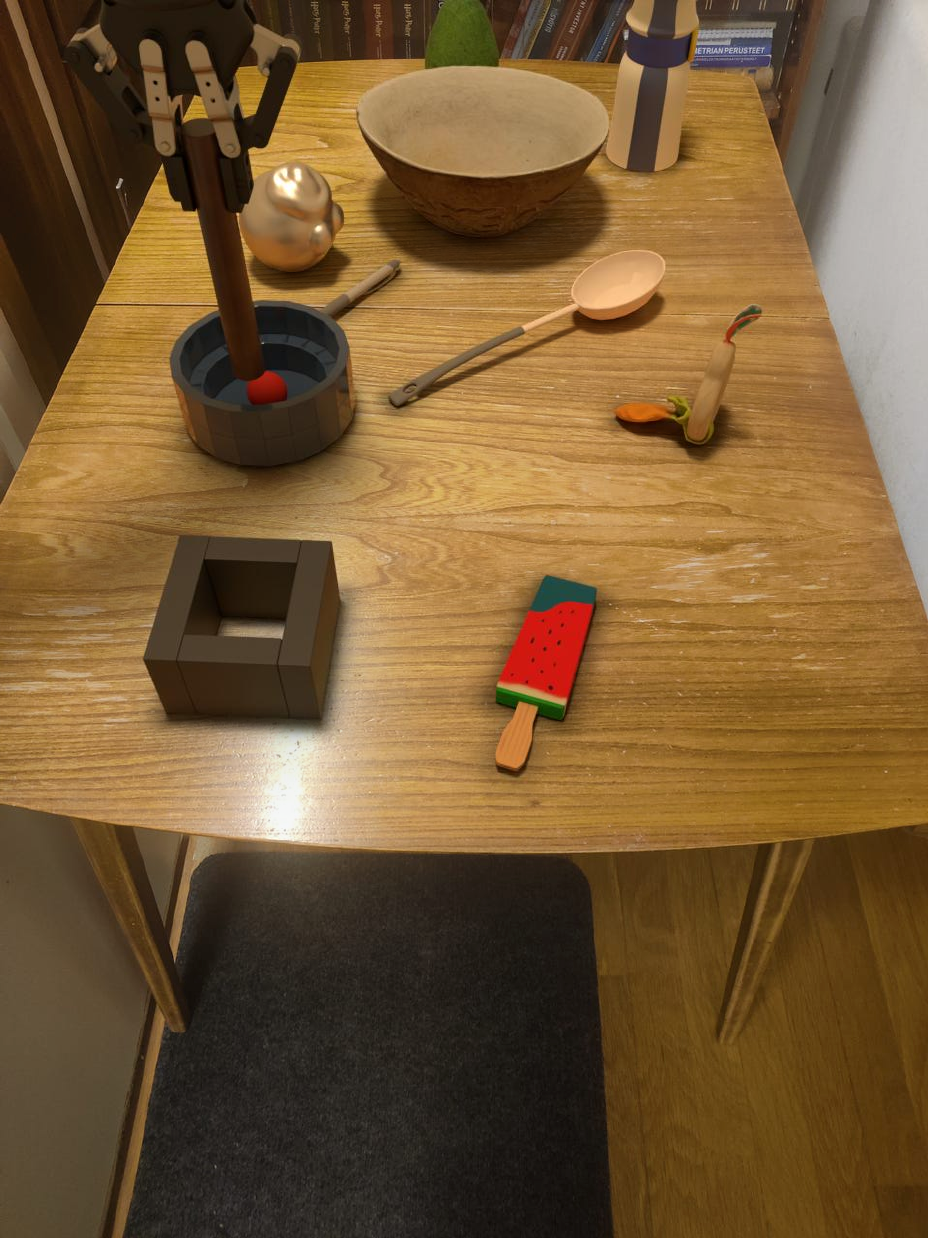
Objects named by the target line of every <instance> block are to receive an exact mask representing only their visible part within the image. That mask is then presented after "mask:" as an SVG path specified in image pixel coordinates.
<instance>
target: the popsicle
mask: <svg viewBox="0 0 928 1238" xmlns="http://www.w3.org/2000/svg"><path fill="white" fill-rule="evenodd" d="M597 594H598V589H597V587H595V586H592V585H587V584H584V583H579V582H576V581H572V580H569V579H564V578H561V577H556V576H553V575H549V574H547V575H545V576H543V578H542V580H541V582H540V585H539V586H538V590H537V592H536V593H535V596H534V599H533V601H532V603H531V606H530V607H529V609H528V612H527V614H526V617H525V619H524V622H523V623H522V626H521V628H520V630H519V633H518V635H517V638H516V640H515V642H514V644H513V646H512V649H511V650H510V653H509V656H508V658H507V660H506V663H505V665H504V667H503V669H502V672H501V674H500V676H499V678H498V680H497V683H496V686H495V702H496V703H498V704H502V705H505V706H508V707H513V708H516V709H515V711H514V713H513V717H512V719H511V720H510V721H509V722H508V723H507V726H506V727H505V728H504V729H503V731H502V733H501V736H500V739H499V742H498V744H497V747H496V750H495V754H494V755H495V756H494V760H495V764H496V766H498V767H501V768H504V769H508V770H511V771H515V772H517V771H519V770H520V769H521V768H522V767H523V766H524V765H525V763H526V760H527V757H528V754H529V751H530V749H531V746H532V743H533V742H532V741H533V725H534V722H535V719H536V716H537V715H541V716H544V717H547V718H550V719H554V720H558V721H561V720H563V718H564V716H565V713H566V709H567V707H568V702H569V699H570V695H571V691H572V689H573V685H574V681H575V677H576V673H577V670H578V668H579V667H578V666H579V664H580V659H581V655H582V652H583V649H584V645H585V641H586V638H587V635H588V630H589V627H590V623H591V619H592V617H593V612H594V609H595V605H596V599H597Z"/></svg>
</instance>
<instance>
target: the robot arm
mask: <svg viewBox="0 0 928 1238" xmlns="http://www.w3.org/2000/svg"><path fill="white" fill-rule="evenodd" d="M98 22H99V23H98V24H96V25H94V26H93V27H91V28H89V27H79V28H78V29H77V30H76V31H75V33H74V35H73V37H72V38H71V39H70V41H69V42H68V44H67V45H66V47H65V49H64V50H63V59H64V61H65V62H66V64H67V65H68V67H69V68H70V69H71V70H72V72H73V73H74V75H76V77H77V78H78V79H79V81H80V82H81V83H82V84H83V86H84V87H85V88H86V90H87V91H88V93H89V94H90V95H91V96H92V98H93V99H94V100H95V102H96V103H97V104H98V105H99V107H100V108H101V110H102V111H103V112H104V114H105V115H106V116H107V117H108V119H109V120H110V121H111V123H112V124H113V126H114V127H115V128H116V129H117V131H118V132H119V133H120V135H121V136H122V137H123V138H124V140H125V141H126V142H127V143H129V144H131V145H136V146H137V145H140V144H144V145H148V146H150V147H152V148H154V149H155V150H156V151H157V153H158V154H159V157H160V159H161V163H162V168H163V172H164V175H165V180H166V184H167V187H168V189H167V190H168V193H169V195H170V197H171V199H172V200H173V201H174V202H175V203H180V205H181V209H182V211H183V212H193V213H195V212H197V208H196V204H195V199H194V195H193V190H192V186H191V181H190V176H189V172H188V167H187V163H186V158H185V154H184V149H183V145H182V140H181V136H180V131H179V129H180V126H181V125H182V124H183V123H185V120H184V110H183V95H187V94H188V95H192V96H196V97H199V98H201V100H202V104H203V107H204V110H205V114H206V116H207V118H208V119H209V120H210V121H212V123H213V126H214V129H215V132H216V136H217V139H218V142H219V145H220V149H221V151H222V152H221V155H220V157H219V161H220V166H221V172H222V177H223V182H224V187H225V192H226V197H227V202H228V208H229V211H230V213H236V214H239V213H242V211H243V208H244V205H245V204H249V201H250V198H251V195H252V191H253V187H254V181H253V180H254V176H253V171H252V164H251V158H250V152H249V150H251V149H254V148H255V149H260V150H261V149H265V148H266V147H267V146H269V145H268V144H269V142H270V139H271V137H272V134H273V132H274V129H275V126H276V123H277V121H278V118H279V115H280V113H281V110H282V107H283V105H284V102H285V98H286V96H287V94H288V91H289V88H290V85H291V82H292V80H293V77H294V74H295V71H296V69H297V66H298V62H299V60H300V57H301V53H302V50H303V42H302V40H301V38H300V37H299V36H297V34H294V33H286V34H284V35H283V36H281V35H279V34H277V33H275V32H273V31H271V30H269V29H268V28H266V27H265V26H262V25H261V24H258V19H257V15H256V12H255V11H254V9H253V7H252V6H251V4H250V3H249V0H101V9H100V13H99V16H98ZM250 48H251V49H253V50H254V52H255V53H256V56H257V63H256V66H257V70H258V72H259V73H260V74H261V75H262V76H263V77H264V78H267V80H266V82H265V85H264V88H263V90H262V95H261V97H260V100H259V102H258V106H257V108H256V111H255V113H254V114H251V115H248V116H245V113H244V110H243V107H242V103H241V99H240V97H241V96H240V93H241V92H240V87H239V84H238V79H237V76H236V74H237V72H238V71H239V68H240V66H241V64H242V63H243V61H244V58H245V57H246V55H247V54H248V51H249V50H250ZM116 52H117V53H118V54H119V55H120V56H121V57H122V58H123V60H124V61H125V62H126V63H127V64H128V65H129V66H130V67H131V68H132V69H133V71H135V73H136V74H137V75H138V76H139V77H140V78H141V79H142V80H143V81H144V87H145V88H144V89H145V95H146V102H145V101H144V100H143V99H142V97H141V95H139V93H138V92H137V90H136V89H135V88H134V86H133V85H132V83H131V82H130V80H129V79H128V78H127V76H126V75H125V74H124V72H123V71H122V69H121V68H120V66H119V65H118V64H117V60H118V57H117V53H116ZM146 103H147V104H146Z"/></svg>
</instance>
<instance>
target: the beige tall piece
mask: <svg viewBox="0 0 928 1238" xmlns="http://www.w3.org/2000/svg"><path fill="white" fill-rule="evenodd" d="M762 313H763V308H762V304H758V303H750V304H749V305H747V306H746V307H745V308H743V309H741V310H740V311H739V312H737V314H736V315H735V316H734V317H733V318H732V320H731V321H730V323H729V325H728V327H727V328H726V329H725V334H724V339H719V340H718V341H717V342H716V343H715V345H714V346H713V348H712V351H711V353H710V356H709V359H708V362H707V365H706V368H705V371H704V373H703V377H702V380H701V383H700V385H699V387H698V390H697V393H696V396H695V399H694V402H693V404H692V408H691V407H690V406H689V404H688V401H687V399H686V397H685V396H681V397H679V396H677V395H675V394H672V395H670V396H668V397H667V398H666V402H668V403H672V404H673V405H674V408H675V409H671V408H669V407H666V406H664V405H659V404H655V403H648V402H628V403H625V404H622V405H620V406H618V407H617V408H616V409H615V410H614V414H615V415H616V417H618V418H620V419H621V420H624V421H627V422H632V423H647V422H654V421H660V420H663V419H671V420H674V421H675V422H677V424H679V425H682V430H683V433H684V438H685V440H686V441H687V442H689V443H692V444H695V445H703V444H705V443H707V442H708V441H709V439H711V438H712V435H713V433H714V431H715V425H714V421H715V419H716V417H717V414H718V411H719V408H720V406H721V403H722V400H723V398H724V396H725V395H724V394H725V391H726V389H727V386H728V382H729V380H730V377H731V374H732V370H733V367H734V364H735V359H736V351H737V346H736V344H735V342H734V341H731V339H732V338H733V337H734V336H735V335H736V334H737V333H738V332H739V331H740V330H742V329H744V328H745V327H746V326H748V325H750V324H751V323H754V322H756V321H758V320H759V319H760V317H762V315H763V314H762Z"/></svg>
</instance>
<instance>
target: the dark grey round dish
mask: <svg viewBox="0 0 928 1238" xmlns="http://www.w3.org/2000/svg"><path fill="white" fill-rule="evenodd" d="M253 305H254V310H255V315H256V321H257V326H258V331H259V337H260V342H261V347H262V353H263V358H264V363H265V371H269V372H273V373H275V374H277V375H279V376H280V377H281V378H282V379H283V380H284V382H285V384H286V386H287V392H288V394H287V399H286V401H281V402H276V403H270V404H264V405H252V404H251V403H250V401H249V399H248V396H247V386H248V383H249V381H242V380H239V379H237V378H236V377H235V376H234V375H233V372H232V367H231V363H230V358H229V353H228V349H227V344H226V340H225V335H224V331H223V326H222V322H221V317H220V313H219V309H217V310H214V311H212V312H210V313H208V314H206V315H204V316H203V317H201V318H200V319H198V320H196V321H195V322H193V323H192V324H190V325H189V326H188V327H187V328H186V329H185V330H184V331H183V332H182V333H181V334H180V335H179V337H177V339H176V340H175V342H174V345H173V348H172V350H171V353H170V355H169V360H168V362H169V367H170V375H171V379H172V383H173V387H174V390H175V393H176V397H177V400H178V404H179V409H180V411H181V415H182V419H183V422H184V425H185V430H186V431H187V433H188V434H189V436H190V437H191V439H192V440H193V441H194V442H195V444H196V445H197V446H198V447H199V448H201V449H202V450H204V451H205V452H207V453H209V454H210V455H211V456H213V457H214V458H217V459H218V460H222V461H225V462H228V463H229V462H230V463H233V464H236V465H240V466H257V467H258V466H260V467H271V466H277V465H283V464H288V463H294V462H299V461H301V460H303V459H306V458H308V457H310V456H313V455H315V454H317V453H320V452H322V451H323V450H324V449H326V448H327V447H328V446H330V445H331V444H332V443H334V442H335V441H336V440H338V439H339V438H340V437H341V436H342V435H343V433H344V432H345V430H346V429H347V427H348V426H349V424H350V423H351V421H352V419H353V416H354V410H355V404H356V396H355V388H354V377H353V376H354V375H353V369H352V358H351V348H350V345H349V341H348V338H347V335H346V332H345V330H344V329H343V328H342V327H341V326H340V325H339V324H338V322H337V321H335V320H334V318H333V317H332V316H331V317H330V316H328V315H326V314H324V313H322V312H321V311H320V309H319V310H318V309H316V308H315V307H314V306H313V307H312V306H310V305H307V304H303V303H298V302H294V301H290V300H270V299H259V300H253Z"/></svg>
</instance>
